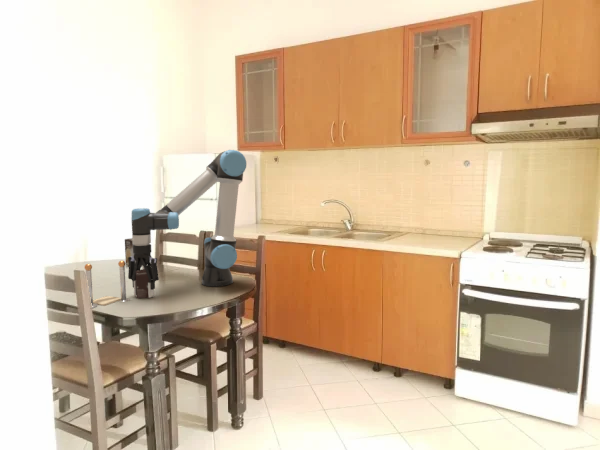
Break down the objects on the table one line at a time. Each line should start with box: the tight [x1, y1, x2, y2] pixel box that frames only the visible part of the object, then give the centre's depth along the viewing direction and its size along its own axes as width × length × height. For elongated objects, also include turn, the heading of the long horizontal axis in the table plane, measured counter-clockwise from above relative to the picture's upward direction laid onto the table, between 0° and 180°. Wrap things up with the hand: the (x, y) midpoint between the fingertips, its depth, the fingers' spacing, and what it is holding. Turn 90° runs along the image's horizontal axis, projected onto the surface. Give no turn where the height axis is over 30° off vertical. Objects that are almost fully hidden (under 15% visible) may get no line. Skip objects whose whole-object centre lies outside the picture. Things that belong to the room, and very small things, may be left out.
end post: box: [84, 263, 98, 309], centre depth 177 cm, size 5×5×18 cm
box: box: [136, 269, 151, 299], centre depth 191 cm, size 6×4×12 cm
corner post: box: [117, 260, 131, 303], centre depth 186 cm, size 5×5×18 cm
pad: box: [93, 295, 121, 307], centre depth 185 cm, size 9×10×1 cm
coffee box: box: [124, 237, 136, 267], centre depth 257 cm, size 9×6×16 cm
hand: (144, 295), depth 191 cm, fingers closed on box, 7 cm apart
